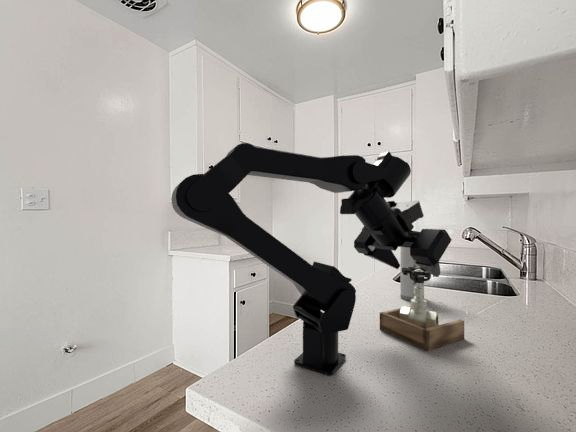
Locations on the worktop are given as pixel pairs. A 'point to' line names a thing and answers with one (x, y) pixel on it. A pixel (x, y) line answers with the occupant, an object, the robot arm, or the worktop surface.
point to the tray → (421, 331)
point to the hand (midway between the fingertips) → (417, 270)
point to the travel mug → (405, 280)
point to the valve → (418, 301)
